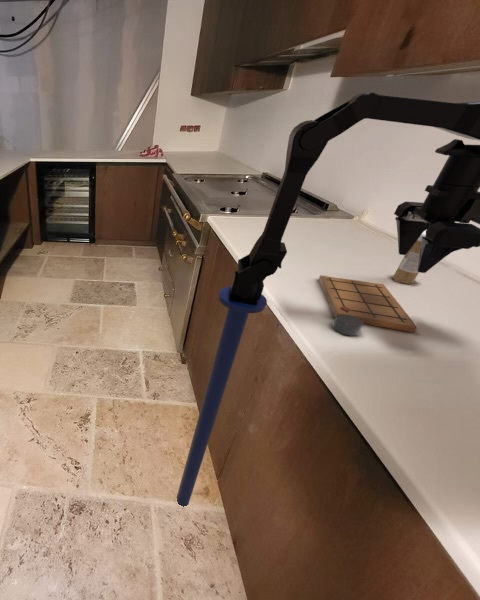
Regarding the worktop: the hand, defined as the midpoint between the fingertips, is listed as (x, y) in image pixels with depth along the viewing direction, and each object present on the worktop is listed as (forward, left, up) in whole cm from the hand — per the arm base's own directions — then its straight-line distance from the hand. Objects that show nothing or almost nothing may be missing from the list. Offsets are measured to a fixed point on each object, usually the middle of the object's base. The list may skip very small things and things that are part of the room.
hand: (411, 262), depth 65 cm
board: (-2, +6, -14) cm, 15 cm away
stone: (-8, -8, -14) cm, 18 cm away
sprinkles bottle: (+12, +24, -14) cm, 30 cm away
